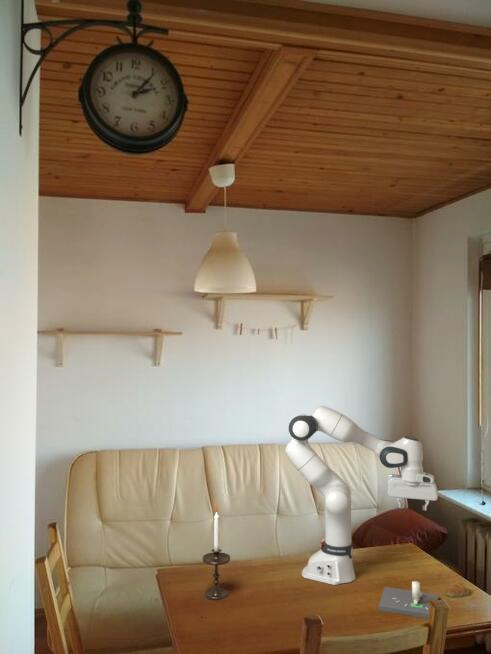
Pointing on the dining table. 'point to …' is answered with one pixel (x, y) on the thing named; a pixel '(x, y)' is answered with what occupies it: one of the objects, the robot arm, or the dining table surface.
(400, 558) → the dining table surface
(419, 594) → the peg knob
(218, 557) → the candlestick
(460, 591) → the pastry
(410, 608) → the dial plate
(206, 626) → the dining table surface
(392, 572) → the dining table surface
